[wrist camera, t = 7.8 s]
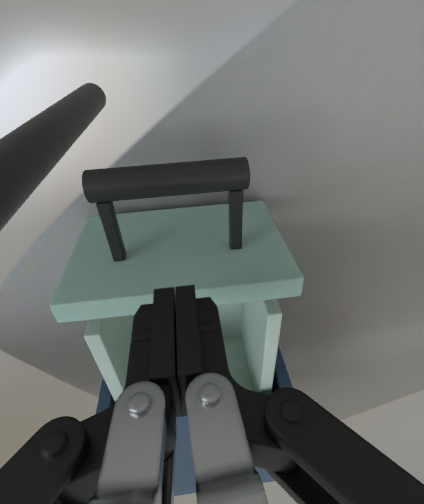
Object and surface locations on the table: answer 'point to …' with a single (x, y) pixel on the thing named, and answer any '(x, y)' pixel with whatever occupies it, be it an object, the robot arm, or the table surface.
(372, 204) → the table surface
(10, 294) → the table surface
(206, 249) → the drawer
